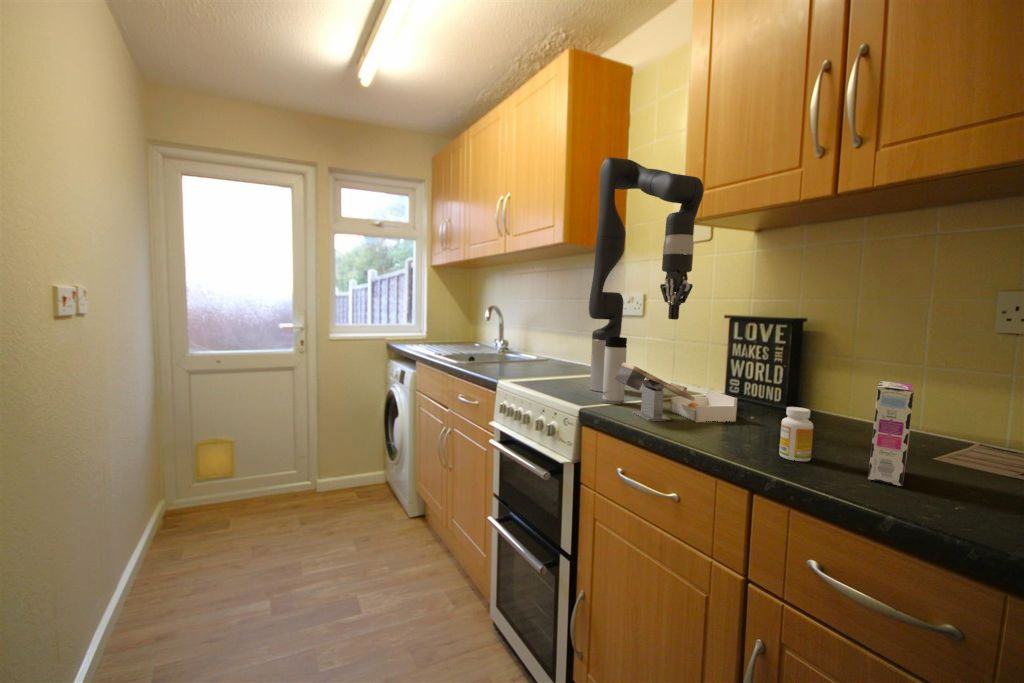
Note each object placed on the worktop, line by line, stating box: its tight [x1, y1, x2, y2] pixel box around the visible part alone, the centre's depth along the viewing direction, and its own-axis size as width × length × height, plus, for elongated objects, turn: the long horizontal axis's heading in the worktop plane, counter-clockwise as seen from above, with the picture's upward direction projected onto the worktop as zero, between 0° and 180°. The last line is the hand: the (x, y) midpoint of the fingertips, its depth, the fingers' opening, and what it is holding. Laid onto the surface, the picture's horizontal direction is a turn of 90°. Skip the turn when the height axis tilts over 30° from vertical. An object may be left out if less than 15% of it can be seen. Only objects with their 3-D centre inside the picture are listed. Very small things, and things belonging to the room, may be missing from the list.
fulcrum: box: [632, 378, 672, 422], centre depth 123 cm, size 9×6×9 cm, turn 11°
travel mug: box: [602, 336, 628, 405], centre depth 140 cm, size 6×7×20 cm
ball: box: [688, 402, 699, 409], centre depth 126 cm, size 3×3×3 cm
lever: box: [615, 362, 696, 401], centre depth 123 cm, size 19×7×6 cm, turn 101°
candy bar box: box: [867, 380, 915, 487], centre depth 83 cm, size 11×5×16 cm, turn 141°
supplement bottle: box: [778, 406, 814, 462], centre depth 93 cm, size 5×5×10 cm
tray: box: [670, 389, 738, 423], centre depth 126 cm, size 12×11×6 cm
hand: (673, 319), depth 126 cm, fingers closed
